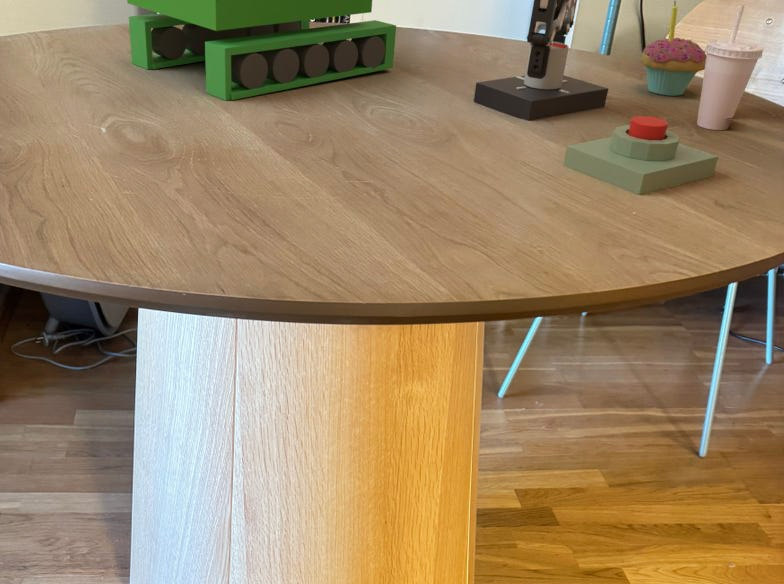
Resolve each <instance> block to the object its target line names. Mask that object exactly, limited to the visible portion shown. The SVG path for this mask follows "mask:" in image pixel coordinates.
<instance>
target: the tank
mask: <svg viewBox="0 0 784 584" xmlns="http://www.w3.org/2000/svg"><path fill="white" fill-rule="evenodd" d="M126 3H127V4H128V5H129V4H130V5H131V6H132V5H133V6H135V7H138V8H140V9H141V8H142V9H144V10H148V11H150V12H153V13H152V14H151V13H150V14H143V15H142V14H140V15H132V16H128V25H129V26H128V27H129V38H130V39H129V41H130V53H131V54H130V55H131V56H130V57H131V64H133V65H135V66H137V67H140V68H143V69H145V70H152V69H153V70H156V69H163V68H169V67H175V66H181V65H188V64H193V63H200V62H204V63H205V93H206V94H209V95H211V96H213V97H215V98H219V99H221V100H223V101H229V100H230V101H231V100H232V101H235V100H240V99H246V98H249V97H254V96H259V95H265V94H269V93H270V94H271V93H275V92H280V91H284V90H289V89H295V88H300V87H304V86H309V85H316V84H320V83H324V82H325V83H326V82H330V81H334V80H335V81H336V80H339V79H344V78H350V77H354V76H359V75H365V74H369V73H370V74H371V73H374V72H375V73H376V72H380V71H385V70H390V69H393V68H394V56H395V47H396V35H397V24H392V23H388V22H384V21H380V20H376V19H373V20H366V21H359V22H350V23H341V24H334V25H327V26H319V27H311V28H310V25H311V24H310V22H311V21H312V20H318V19H326V18H336V17H344V16H351V15H352V16H353V15H361V14H370V13H372V9H373V0H126ZM154 12H155V13H154ZM310 20H311V21H310ZM177 26H182V28H180V27H177ZM350 39H351V40H350ZM291 48H292V49H291ZM259 52H261V53H259ZM153 53H154V55H153Z"/></svg>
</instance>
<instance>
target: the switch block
mask: <svg viewBox="0 0 784 584" xmlns="http://www.w3.org/2000/svg"><path fill="white" fill-rule="evenodd" d="M629 128H630V124H625V125H621V126H616V127H615V129H614V130H613V131H612V136H609V137H604V138H599V139H595V140H594V139H593V140H590V141H584V142H580V143H575V144H569V145H566V149H565V156H564V160H563V166H564V167H566V168H569V169H571V170H574V171H576V172H579V173H582V174H585V175H587V176H590V177H592V178H594V179H597V180H600V181H603V182H604V183H606V184H607V183H608V184H610V185H612V186H615V187H617V188H620V189H623V190H625V191H628V192H630V193H633V194H635V195H638V196H642V195H645V194H649V193H653V192H657V191H661V190H664V189H668V188H672V187H676V186H679V185H684V184H688V183H691V182H696V181H700V180H703V179H708V178H711V177H713V176H714V175H715V174H714V173H715V170H716V167H717V163H718V160H719V155H716V154H713V153H711V152H707V151H703V150H701V149H698V148H695V147H692V146H688V145H685V144H682V143H680V139H681V137H680V136H679V135H678V134H676V133H675V132H673V131H671V130H668V129H666V133H665V137H664V140H645V139H639V138H635V137H633V136H630V135H628V132H629Z"/></svg>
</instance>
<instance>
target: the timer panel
mask: <svg viewBox="0 0 784 584" xmlns="http://www.w3.org/2000/svg"><path fill="white" fill-rule="evenodd" d="M524 78H525V75H520V76H519V75H517V76H513V77H512V76H511V77H505V78H497V79H491V80H484V81H476V83H475V89H474V96H473V102H474V103H477V104H479V105H482V106H485V107H488V108H489V109H493V110H496V111H499V112H501V113H505V114H507V115H510V116H513V117H516V118H519V119H521V120H525V121H528V122H530V121H536V120H542V119H547V118H552V117H553V118H554V117H557V116H564V115H569V114H576V113H581V112H586V111H587V112H588V111H592V110H597V109H603V108H605V107H606V102H607V98H608V93H609V88H608V87H605V86H601V85H598V84H595V83H592V82H587V81H584V80H581V79H578V78H574V77H571V76H568V75H565V74H564V75H563V81H562V86H561V88H558V89H551V90H547V89H537V88H532V87H529V86H526V85H525V84H524Z"/></svg>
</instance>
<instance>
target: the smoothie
mask: <svg viewBox="0 0 784 584" xmlns="http://www.w3.org/2000/svg"><path fill="white" fill-rule="evenodd" d="M744 9H745V4H739V6H738V9H737V13H736V15H735V19H734V24H733V27H732V31H731V34H730V37H729V39H711V40H709V41H707V42H706V45H705V49H704V51H705V53H706V56H707V57H706V63H705V69H704V70H703V78H702V84H701V93H700V98H699V99H700V100H699V106H698V114H697V119H696V125H697V126H698V127H700V128H703V129H707V130H712V131H713V130H714V131H725V130H728V129H729V127H730V125H731V123H732V121H733V120H732V119H731V118H734V116H735V113H736V112H737V109H738V106H739V104H740V103H741V99H742V97H743V95H744V93H745V91H746V88H747V86H748V83H749V81H750V79H751V76H752V74H753V72H754V70H755V68H756V66H757V63H758V60H759V59H761V58H762V57H763V53H764V50H765V49H764V47H763V46H761V45H759V44H757V43H753V42H749V41H742V40H737V39H736V37H737V34H738V30H739V27H740V23H741V21H742V16H743V13H744Z"/></svg>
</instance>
